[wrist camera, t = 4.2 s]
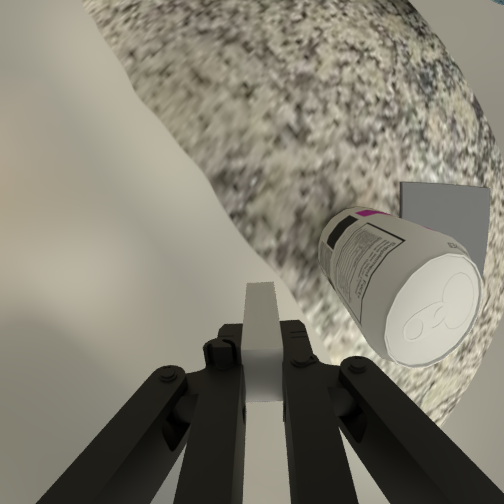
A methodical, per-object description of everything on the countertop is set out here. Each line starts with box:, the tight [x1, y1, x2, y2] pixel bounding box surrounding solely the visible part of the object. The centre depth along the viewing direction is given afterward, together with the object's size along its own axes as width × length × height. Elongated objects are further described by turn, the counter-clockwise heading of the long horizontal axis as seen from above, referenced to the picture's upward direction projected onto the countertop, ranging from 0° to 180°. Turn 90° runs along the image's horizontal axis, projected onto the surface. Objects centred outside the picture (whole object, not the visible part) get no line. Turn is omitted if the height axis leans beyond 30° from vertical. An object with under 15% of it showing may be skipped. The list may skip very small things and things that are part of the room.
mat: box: [400, 182, 490, 278], centre depth 26 cm, size 13×14×1 cm
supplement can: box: [318, 207, 483, 369], centre depth 20 cm, size 8×8×15 cm
